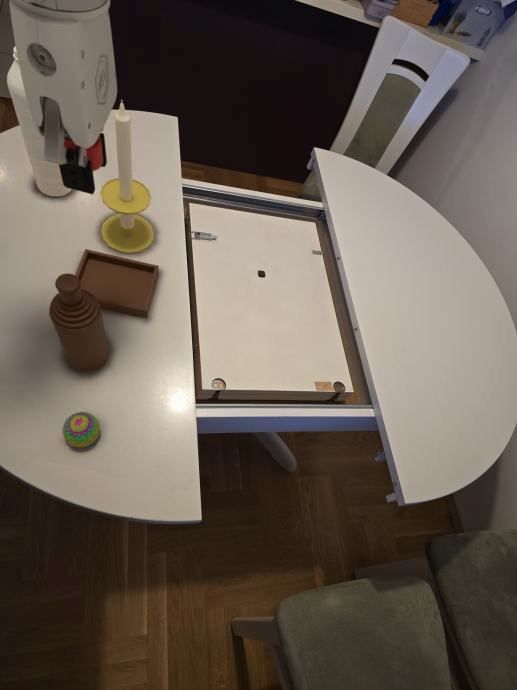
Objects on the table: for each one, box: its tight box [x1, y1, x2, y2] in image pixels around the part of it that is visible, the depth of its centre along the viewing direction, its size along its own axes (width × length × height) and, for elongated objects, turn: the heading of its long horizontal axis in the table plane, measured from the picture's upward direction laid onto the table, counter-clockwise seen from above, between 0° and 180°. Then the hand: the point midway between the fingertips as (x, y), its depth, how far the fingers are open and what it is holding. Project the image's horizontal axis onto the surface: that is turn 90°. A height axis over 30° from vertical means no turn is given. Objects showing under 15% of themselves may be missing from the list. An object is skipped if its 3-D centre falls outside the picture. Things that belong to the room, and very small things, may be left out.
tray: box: [74, 248, 160, 319], centre depth 70 cm, size 13×10×2 cm
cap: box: [64, 135, 103, 172], centre depth 41 cm, size 4×4×3 cm
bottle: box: [48, 273, 110, 372], centre depth 56 cm, size 6×6×20 cm
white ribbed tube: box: [6, 45, 73, 198], centre depth 68 cm, size 9×6×25 cm
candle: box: [100, 99, 155, 254], centre depth 66 cm, size 10×10×27 cm
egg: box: [62, 411, 101, 448], centre depth 56 cm, size 5×5×6 cm
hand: (86, 174), depth 44 cm, fingers closed on cap, 3 cm apart
